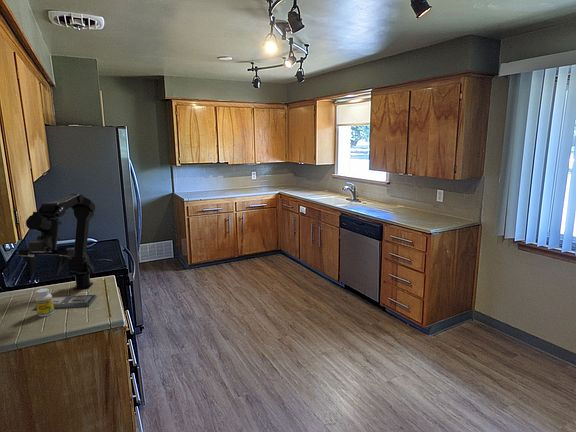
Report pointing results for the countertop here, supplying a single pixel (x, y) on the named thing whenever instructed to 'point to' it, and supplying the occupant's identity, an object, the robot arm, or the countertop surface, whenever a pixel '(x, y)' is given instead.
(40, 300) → the supplement bottle
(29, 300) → the countertop surface
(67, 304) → the panel
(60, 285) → the countertop surface
